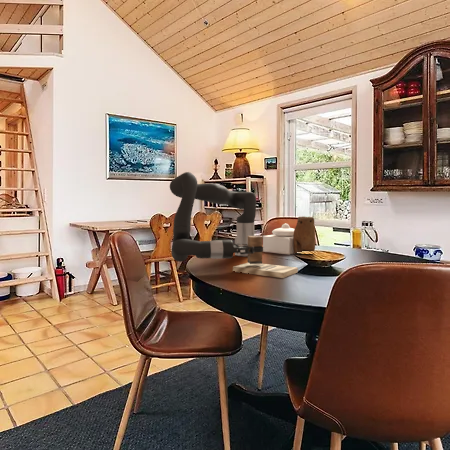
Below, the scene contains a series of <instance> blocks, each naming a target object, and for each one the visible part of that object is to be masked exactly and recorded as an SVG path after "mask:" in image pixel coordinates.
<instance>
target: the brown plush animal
mask: <svg viewBox="0 0 450 450" xmlns="http://www.w3.org/2000/svg"><path fill="white" fill-rule="evenodd" d="M315 227H316V224H315V218H314V217H312V216H298V217H297V220H296V226H295V228H293V229H294V237H293V246H294V254H295V253H297V252H302V251H315V250H316V228H315Z"/></svg>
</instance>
